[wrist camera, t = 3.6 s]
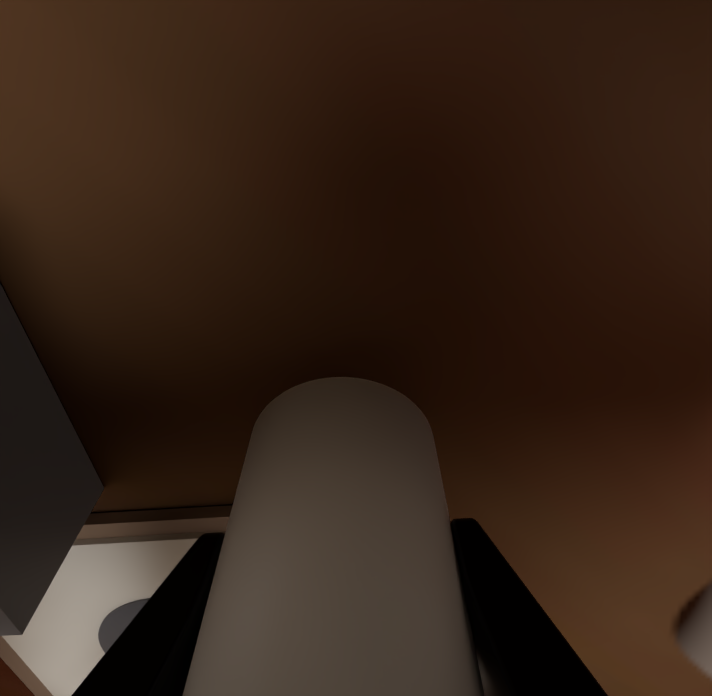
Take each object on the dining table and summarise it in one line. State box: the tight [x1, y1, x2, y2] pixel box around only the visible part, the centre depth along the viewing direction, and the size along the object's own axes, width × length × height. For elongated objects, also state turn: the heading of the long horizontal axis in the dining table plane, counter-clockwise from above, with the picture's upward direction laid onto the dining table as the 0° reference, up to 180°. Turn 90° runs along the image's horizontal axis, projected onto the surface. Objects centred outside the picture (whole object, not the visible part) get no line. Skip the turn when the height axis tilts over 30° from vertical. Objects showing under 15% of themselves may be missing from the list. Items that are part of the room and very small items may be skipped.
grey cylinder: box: [182, 377, 485, 696], centre depth 7 cm, size 4×4×9 cm
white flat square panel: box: [0, 505, 233, 696], centre depth 17 cm, size 14×13×1 cm
